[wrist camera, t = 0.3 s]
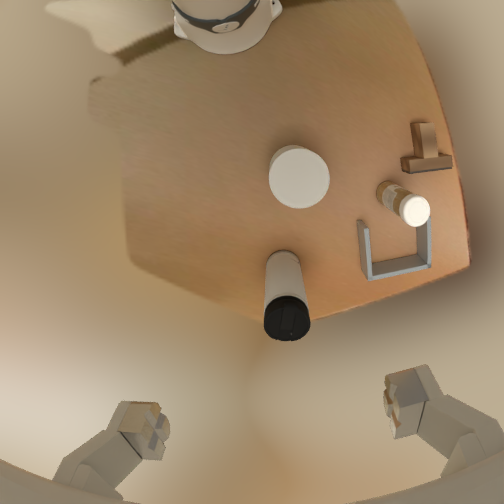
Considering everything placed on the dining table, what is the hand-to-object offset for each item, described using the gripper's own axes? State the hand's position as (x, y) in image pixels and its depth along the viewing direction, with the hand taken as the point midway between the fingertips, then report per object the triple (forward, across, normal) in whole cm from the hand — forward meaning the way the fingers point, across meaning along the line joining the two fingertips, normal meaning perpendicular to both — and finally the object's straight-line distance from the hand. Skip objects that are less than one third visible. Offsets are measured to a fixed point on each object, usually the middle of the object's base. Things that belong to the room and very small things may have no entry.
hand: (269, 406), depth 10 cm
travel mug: (+47, +1, +16) cm, 49 cm away
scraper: (+47, -28, -2) cm, 55 cm away
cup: (+47, -4, -2) cm, 47 cm away
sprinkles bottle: (+47, -20, +6) cm, 51 cm away
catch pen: (+47, -20, +14) cm, 53 cm away
